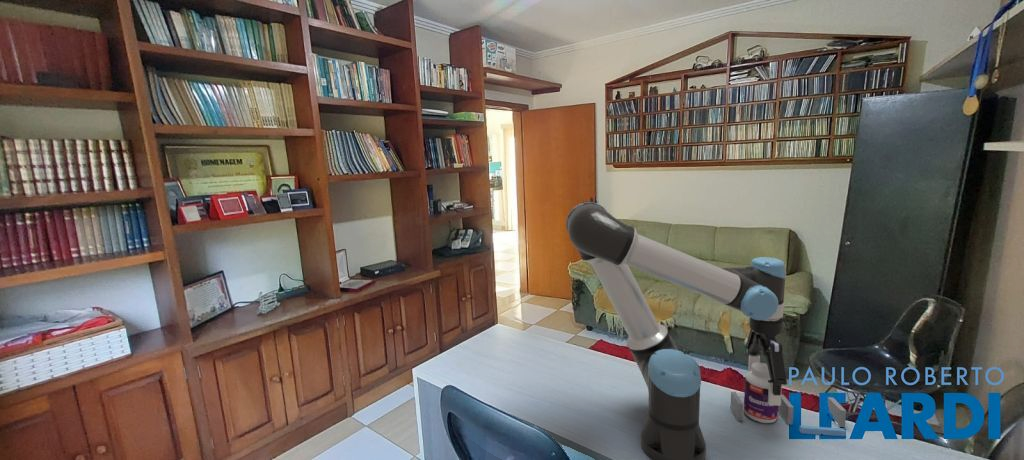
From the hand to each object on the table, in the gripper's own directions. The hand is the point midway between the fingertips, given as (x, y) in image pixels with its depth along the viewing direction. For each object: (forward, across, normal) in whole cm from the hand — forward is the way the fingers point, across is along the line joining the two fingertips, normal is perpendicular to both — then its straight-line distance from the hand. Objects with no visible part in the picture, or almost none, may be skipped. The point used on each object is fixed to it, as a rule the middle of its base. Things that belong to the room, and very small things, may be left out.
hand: (763, 390), depth 111 cm
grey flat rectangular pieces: (+8, -2, -5) cm, 10 cm away
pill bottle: (+8, 0, +1) cm, 8 cm away
